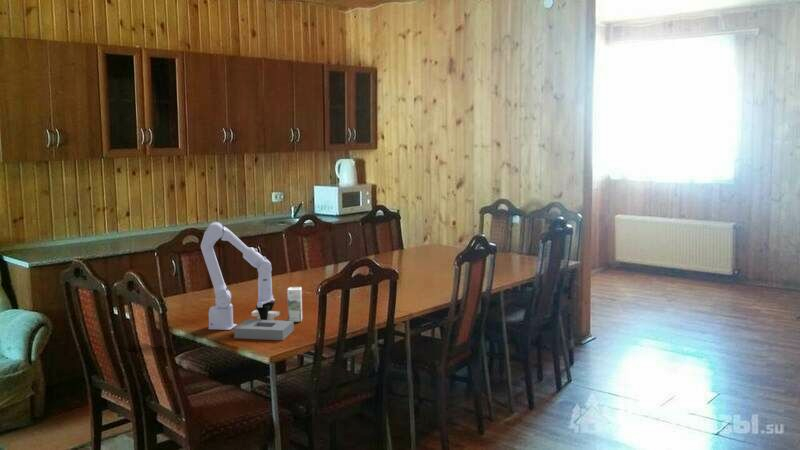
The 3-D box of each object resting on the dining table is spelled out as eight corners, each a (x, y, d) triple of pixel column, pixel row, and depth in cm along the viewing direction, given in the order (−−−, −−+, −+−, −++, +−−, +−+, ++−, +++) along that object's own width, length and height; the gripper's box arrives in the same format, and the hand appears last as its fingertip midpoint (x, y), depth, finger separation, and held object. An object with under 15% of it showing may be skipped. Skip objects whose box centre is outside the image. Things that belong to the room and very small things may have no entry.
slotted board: (234, 338, 288) (234, 328, 287) (247, 328, 301) (247, 319, 301) (283, 340, 285) (282, 330, 284) (293, 330, 298) (293, 321, 298)
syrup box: (302, 318, 317) (301, 286, 315) (301, 322, 311) (300, 289, 309) (289, 319, 316) (288, 286, 314) (287, 322, 311) (287, 289, 309)
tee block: (251, 324, 305) (251, 312, 304) (255, 322, 309) (254, 310, 308) (276, 325, 303) (276, 313, 303) (279, 323, 307) (279, 311, 307)
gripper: (268, 292, 296) (269, 325, 298) (279, 285, 311) (280, 316, 312) (251, 292, 298) (252, 324, 299) (264, 284, 312) (264, 315, 314)
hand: (265, 320), depth 306 cm, fingers closed on tee block, 4 cm apart
